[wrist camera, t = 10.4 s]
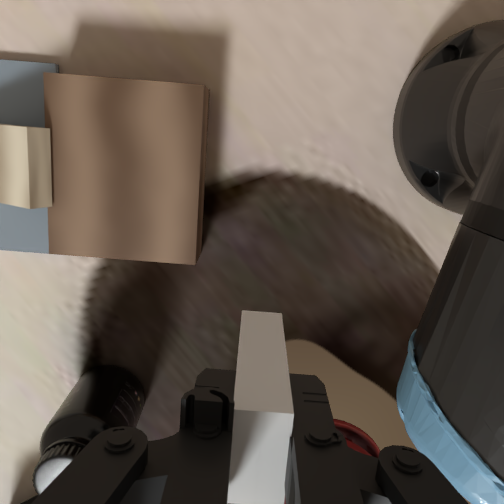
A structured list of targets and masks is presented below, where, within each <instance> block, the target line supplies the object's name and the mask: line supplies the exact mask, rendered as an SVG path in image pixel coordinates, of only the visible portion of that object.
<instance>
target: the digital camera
mask: <svg viewBox="0 0 504 504" xmlns="http://www.w3.org/2000/svg"><path fill="white" fill-rule="evenodd" d="M38 496H39V495H37V496H35V497H33V498H31V499H29V500H27V501H25V502H23V503H21V504H31V503H32V502H33V501H34V500H35V499H36V498H37V497H38Z"/></svg>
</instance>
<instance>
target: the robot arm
mask: <svg viewBox="0 0 504 504" xmlns="http://www.w3.org/2000/svg"><path fill="white" fill-rule="evenodd" d="M393 140H394V147H395V152H396V156H397V159H398V162H399V164H400V167H401V169H402V171H403V173H404V175H405V176H406V178H407V179H408V181H409V182H410V183H411V185H412V186H413V187H414V188H415V189H416V190H417V191H418V192H419V193H420V194H421V195H422V196H423V197H425V198H426V199H428V200H429V201H431V202H432V203H434V204H436V205H438V206H440V207H442V208H445V209H447V210H450V211H452V212H455V213H458V214H462V215H463V217H462V220H461V222H459V225H458V228H457V230H456V233H455V235H454V238H453V240H452V243H451V245H450V248H449V250H448V253H447V255H446V258H445V260H444V263H443V265H442V268H441V270H440V273H439V275H438V278H437V280H436V283H435V285H434V288H433V290H432V293H431V295H430V298H429V301H428V303H427V306H426V308H425V311H424V313H423V316H422V318H421V321H420V323H419V326H418V328H417V329H415V330H414V331H413V333H412V334H411V337H410V340H409V343H408V354H407V357H406V361H405V364H404V367H403V370H402V373H401V376H400V379H399V382H398V386H397V394H396V398H397V407H398V411H399V413H400V416H401V419H402V420H403V422H404V423H405V428H406V432H407V433H408V435H409V437H410V439H411V440H412V442H413V443H414V445H415V446H416V448H417V449H418V451H417V450H415V449H412V448H409V447H405V446H394V445H392V446H389V447H385V448H384V449H382V450H381V451H380V452H379V458H376V457H373V456H369V455H366V454H363V453H360V452H358V451H355V450H353V449H352V448H350V447H348V445H347V442H346V439H345V438H344V436H343V434H342V433H340V432H339V431H338V430H337V429H336V428H335V424H334V420H333V416H332V413H331V409H330V405H329V401H328V397H327V393H326V389H325V385H324V384H323V383H322V382H321V381H320V380H319V379H318V377H317V376H315V375H301V374H289V370H288V361H287V353H286V346H285V337H284V329H283V321H282V313H269V312H256V311H243V310H242V317H241V328H240V338H239V349H238V359H237V369H236V371H234V370H221V369H208V368H206V369H205V370H203V371H202V372H201V373H200V374H199V375H198V376H197V379H196V383H195V387H194V389H192V390H190V391H188V392H187V393H185V394H184V396H183V397H182V399H181V415H180V430H179V432H178V433H176V434H175V435H173V436H170V437H168V438H164V439H160V440H154V441H148V440H147V436H146V435H145V434H144V433H143V432H142V431H141V430H139V429H136V428H134V427H126V426H121V427H113V428H110V429H107V430H105V431H102V432H101V433H99V434H98V435H97V436H95V437H94V438H93V439H92V440H91V441H90V442H89V443H88V444H87V445H86V447H85V448H84V449H83V450H82V451H81V452H80V453H79V454H78V455H77V456H76V457H75V458H74V459H73V460H72V461H71V462H70V463H69V464H68V465H67V466H66V467H65V469H64V470H63V471H62V472H61V473H60V474H59V475H58V476H57V477H56V478H55V479H54V480H53V481H52V482H51V483H50V484H49V485H48V486H47V487H46V488H45V489H44V491H43V492H42V493H41V494H40V495H39V496H38V497H37V498H36V499H35V500H34V501H33V502H32V503H31V504H227V503H234V504H284V500H286V504H468V503H467V502H466V500H465V499H467V500H468V501H469V502H470V503H472V504H504V20H498V21H491V22H486V23H482V24H479V25H476V26H473V27H470V28H468V29H466V30H464V31H461V32H459V33H457V34H455V35H453V36H452V37H450V38H448V39H446V40H445V41H443V42H441V43H440V44H439V45H437V46H436V47H435V48H433V49H432V50H431V51H430V52H429V53H428V54H427V55H426V56H425V57H424V58H423V59H422V60H421V61H420V62H419V63H418V64H417V66H416V67H415V68H414V69H413V71H412V72H411V74H410V75H409V77H408V79H407V81H406V82H405V84H404V86H403V88H402V91H401V93H400V96H399V99H398V102H397V105H396V109H395V114H394V122H393ZM460 494H461V495H462V496H463V497H464V498H465V499H464V498H463V497H462V496H461V495H460Z"/></svg>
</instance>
